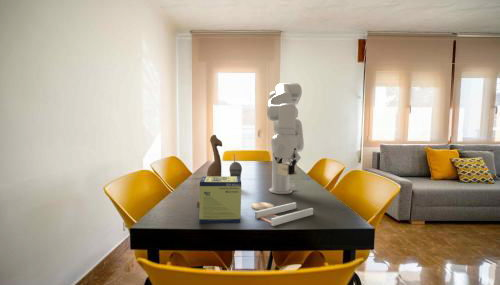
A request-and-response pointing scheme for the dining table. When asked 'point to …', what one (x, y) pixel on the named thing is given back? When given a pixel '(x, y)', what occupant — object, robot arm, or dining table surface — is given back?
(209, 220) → the protein box
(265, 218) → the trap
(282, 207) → the channel
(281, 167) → the block
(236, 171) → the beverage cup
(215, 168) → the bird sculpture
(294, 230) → the dining table surface
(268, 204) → the coaster
